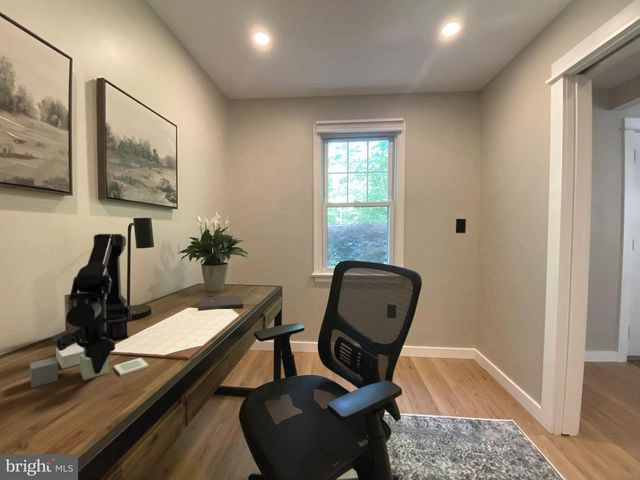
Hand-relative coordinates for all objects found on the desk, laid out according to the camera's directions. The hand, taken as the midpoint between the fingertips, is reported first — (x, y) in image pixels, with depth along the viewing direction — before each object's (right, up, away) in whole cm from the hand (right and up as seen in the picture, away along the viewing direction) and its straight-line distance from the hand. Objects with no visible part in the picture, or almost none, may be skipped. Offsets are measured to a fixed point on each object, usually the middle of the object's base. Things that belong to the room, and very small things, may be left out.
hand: (94, 369), depth 80 cm
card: (+8, -1, +3) cm, 9 cm away
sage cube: (0, -1, 0) cm, 1 cm away
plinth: (-12, -1, +9) cm, 15 cm away
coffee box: (-28, 0, +29) cm, 40 cm away
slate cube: (-10, -1, -4) cm, 11 cm away
